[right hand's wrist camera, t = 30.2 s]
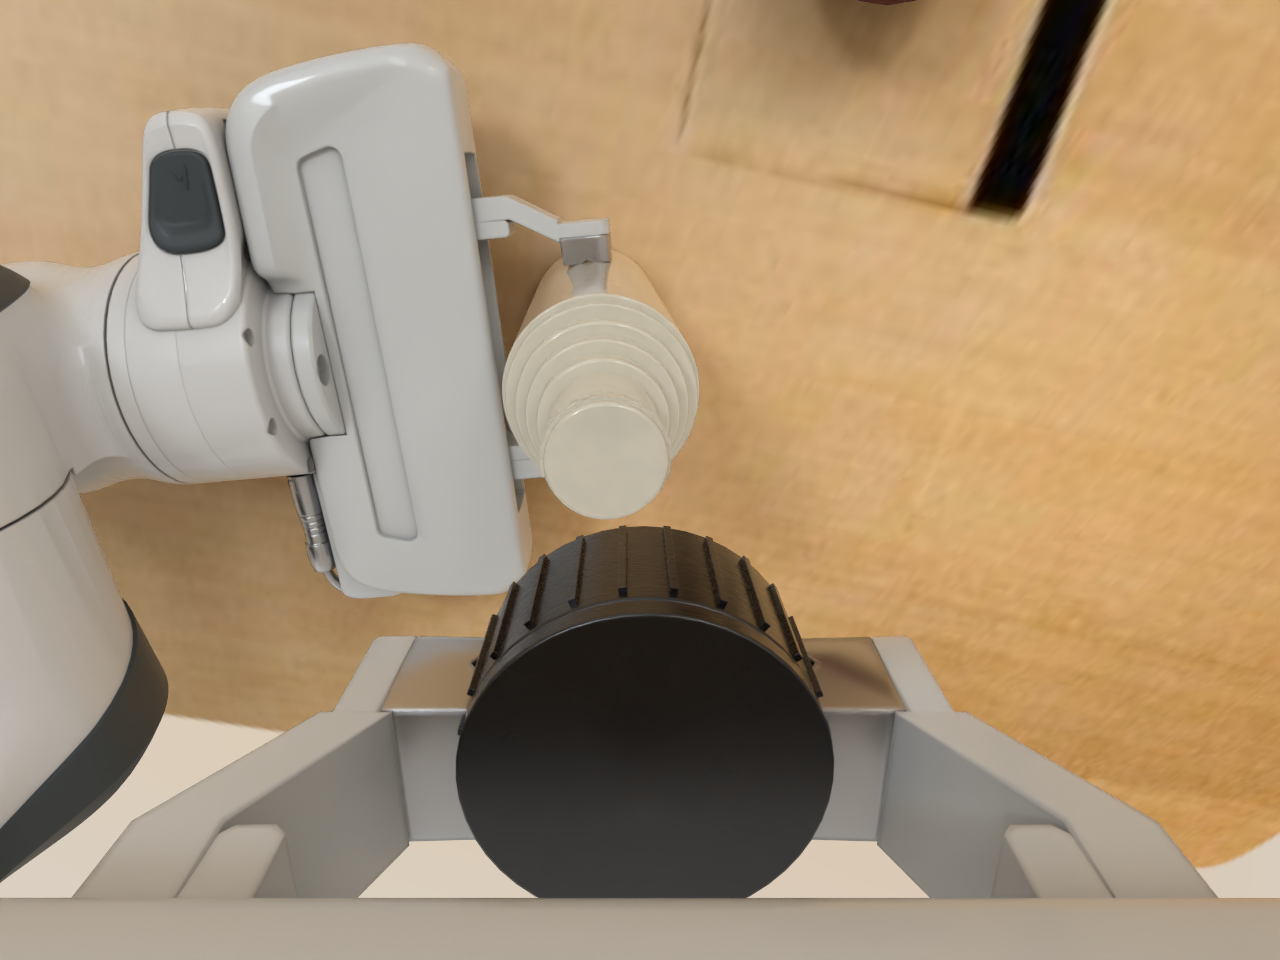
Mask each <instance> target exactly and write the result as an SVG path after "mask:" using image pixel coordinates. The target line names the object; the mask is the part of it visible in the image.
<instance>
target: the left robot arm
mask: <svg viewBox="0 0 1280 960" xmlns="http://www.w3.org/2000/svg"><path fill="white" fill-rule="evenodd" d="M516 223H517V224H519V225H522V226H524V227H526V228H528V229H530V230H533V231H535V232H537V233H539V234H541V235H543V236H546V237H548V238H550V239H552V240H554V241H556V242H559V243H560V244H561V251H562V258H563V266H567V265H578V264H582V263H584V262H585V261H586V260H587V259H588V260H589V261H591V262H608V261H612V248H611V235H610V225H609V218H590V219H579V220H568V221H561V218H560V217H558V216H556V215H554V214H552V213H550V212H548V211H546V210H544V209H542V208H540V207H538V206H536V205H534V204H532V203H529V202H527V201H525V200H523V199H521V198H519V197H517V196H515V195H513V194H510V195H499V196H488V197H483V196H482V189H481V183H480V176H479V169H478V162H477V155H476V148H475V141H474V134H473V128H472V121H471V114H470V107H469V100H468V93H467V87H466V81H465V78H464V75H463V74H462V72H461V71H460V70H459V69H458V68H457V67H456V66H455V65H454V64H453V63H452V62H450V61H449V60H448V59H447V58H446V57H445V56H443V55H442V54H441V53H439V52H438V51H436V50H435V49H433V48H431V47H429V46H426V45H423V44H417V43H403V44H391V45H383V46H377V47H370V48H364V49H358V50H353V51H348V52H342V53H338V54H333V55H329V56H324V57H320V58H316V59H312V60H309V61H305V62H301V63H297V64H294V65H291V66H287V67H284V68H281V69H278V70H275V71H272V72H269V73H267V74H265V75H263V76H261V77H259V78H257V79H256V80H254V81H252V82H251V83H249V84H248V85H247V86H246V87H245V88H244V89H243V90H242V91H240V93H239V94H238V95H237V96H236V98H235V100H234V101H233V103H232V105H231V107H230V109H222V108H208V107H205V108H184V109H176V110H171V111H165V112H161V113H158V114H155V115H153V116H152V117H151V118H150V119H149V120H148V122H147V124H146V126H145V129H144V134H143V147H142V215H141V237H140V251H139V252H136V253H131V254H128V255H125V256H123V257H120V258H118V259H116V260H114V261H111V262H109V263H107V264H104V265H100V266H95V267H75V266H70V265H66V264H61V263H54V262H45V261H27V262H16V263H6V264H0V882H2V881H3V880H4V879H6V878H7V877H8V876H10V875H11V874H12V873H14V872H15V871H17V870H18V869H19V868H21V867H22V866H24V865H25V864H26V863H28V862H29V861H30V860H32V859H33V858H35V857H36V856H37V855H39V854H40V853H42V852H43V851H44V850H46V849H47V848H48V847H50V846H51V845H52V844H54V843H55V842H57V841H58V840H60V839H61V838H62V837H64V836H65V835H66V834H68V833H69V832H70V831H72V830H73V829H74V828H76V827H77V826H78V825H79V824H81V823H82V822H83V821H84V820H86V819H87V818H88V817H89V816H91V815H92V814H93V813H94V812H95V811H96V810H97V809H99V808H100V807H101V806H102V805H103V804H104V803H105V802H106V801H107V800H108V799H109V798H110V797H111V796H112V795H113V794H114V793H115V792H116V791H117V790H118V789H119V787H120V786H121V785H122V784H123V783H124V781H125V780H126V779H127V778H128V776H129V775H130V774H131V773H132V771H133V770H134V768H135V767H136V765H137V764H138V762H139V760H140V759H141V757H142V756H143V754H144V752H145V751H146V749H147V747H148V745H149V744H150V742H151V740H152V738H153V736H154V734H155V731H156V729H157V727H158V725H159V723H160V721H161V719H162V716H163V714H164V711H165V708H166V704H167V699H168V681H167V677H166V674H165V672H164V670H163V668H162V666H161V664H160V662H159V660H158V659H157V657H156V655H155V653H154V651H153V649H152V648H151V646H150V644H149V642H148V640H147V638H146V636H145V635H144V633H143V631H142V629H141V627H140V625H139V623H138V622H137V620H136V618H135V616H134V614H133V612H132V611H131V609H130V607H129V606H128V604H127V603H126V601H125V600H124V599H122V598H121V595H120V593H119V590H118V588H117V585H116V583H115V581H114V578H113V576H112V573H111V571H110V568H109V566H108V564H107V561H106V559H105V556H104V554H103V551H102V549H101V546H100V544H99V542H98V539H97V537H96V534H95V532H94V529H93V527H92V524H91V522H90V520H89V517H88V515H87V512H86V510H85V507H84V505H83V502H82V500H81V498H80V495H79V494H81V493H87V492H93V491H97V490H100V489H103V488H105V487H108V486H111V485H113V484H116V483H118V482H121V481H125V480H129V479H138V478H139V479H150V480H156V481H160V482H165V483H171V484H199V483H210V482H221V481H232V480H244V479H256V478H267V477H278V476H287V479H288V483H289V487H290V490H291V494H292V498H293V502H294V506H295V509H296V512H297V515H298V517H299V519H300V521H301V524H302V527H303V530H304V534H305V538H306V542H305V546H306V552H307V556H308V559H309V561H310V564H311V566H312V567H313V569H314V571H315V572H319V573H323V574H324V576H325V578H326V579H327V580H328V582H329V583H330V584H331V585H333V586H334V587H335V588H336V589H338V590H339V591H341V592H343V594H344V595H346V596H348V597H351V598H358V599H365V598H377V597H388V596H395V595H398V594H400V593H409V594H424V595H450V596H472V595H494V594H500V593H504V592H506V591H508V590H509V587H510V585H511V584H512V582H513V581H514V582H516V583H517V582H518V581H519V580H520V579H521V578H522V577H523V576H524V575H525V574H526V572H527V569H528V565H529V562H530V557H531V552H532V545H533V541H532V533H531V526H530V519H529V512H528V505H527V498H526V491H525V484H524V479H529V478H540V477H541V472H540V468H539V467H538V466H536V465H535V464H534V463H533V462H532V461H531V460H530V459H529V458H528V457H527V455H526V454H525V453H524V451H523V450H522V449H521V447H520V446H519V444H518V442H517V440H516V439H515V437H514V435H513V432H512V431H511V429H510V426H509V423H508V421H507V418H506V415H505V410H504V406H503V398H502V379H503V374H504V368H505V364H506V354H505V347H504V340H503V333H502V327H501V320H500V313H499V306H498V299H497V292H496V285H495V279H494V272H493V265H492V258H491V251H490V244H489V239H495V238H505V237H508V236H510V235H512V234H513V233H514V232H515V231H516V230H517V229H516ZM334 568H336V569H337V573H338V576H337V575H336V574H335V573H334V571H333V569H334Z"/></svg>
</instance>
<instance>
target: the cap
mask: <svg viewBox="0 0 1280 960" xmlns="http://www.w3.org/2000/svg"><path fill="white" fill-rule="evenodd" d="M467 695H469V696H472V697H471V701H470V704H469V707H468V711H467V714H466V717H465V720H461V721H460V724H459V727H458V734H457V735H459V736H460V737H459V742H458V748H457V754H456V785H457V791H458V798H459V801H460V805H461V808H462V811H463V814H464V817H465V820H466V822H467V824H468V826H469V828H470V830H471V832H472V834H473V836H474V838H475V840H476V841H477V842H478V844H479V845H480V847H481V848H482V850H483V851H484V853H485V854H486V855H487V856H488V857H489V859H490V860H491V861H492V862H493V863H494V864H495V865H496V866H497V867H498V868H499V870H500V871H502V872H503V873H504V874H505V875H506V876H508V877H509V878H510V879H511V880H512V881H514V882H515V883H516V884H517V885H519V886H520V887H522V888H523V889H525V890H526V891H528V892H529V893H531V894H533V895H534V896H536V897H538V898H747V897H749V896H751V895H752V894H754V893H756V892H757V891H759V890H760V889H762V888H763V887H765V886H767V885H768V884H770V883H771V882H772V881H773V880H774V879H776V878H777V877H778V876H779V875H781V874H782V873H783V872H784V871H785V870H786V869H787V868H788V867H789V866H790V865H791V864H792V863H793V862H794V861H795V860H796V859H797V858H798V857H799V856H800V855H801V853H802V852H803V851H804V849H805V848H806V847H807V845H808V844H809V842H810V841H811V840H812V838H813V836H814V835H815V833H816V831H817V829H818V827H819V825H820V824H821V822H822V820H823V817H824V814H825V811H826V809H827V806H828V803H829V800H830V795H831V790H832V785H833V780H834V752H833V744H832V738H831V730H830V728H829V725H828V724H827V720H826V717H825V715H824V712H823V710H822V707H821V704H820V702H819V699H818V698H820V697H823V693H822V690H821V688H820V685H819V683H818V680H817V677H816V675H815V672H814V670H813V667H812V665H811V662H810V659H809V657H808V654H807V652H806V649H805V647H804V644H803V642H802V639H801V636H800V634H799V631H798V629H797V626H796V624H795V621H794V619H793V616H791V617H788V616H787V614H786V611H785V608H784V606H783V603H782V601H781V598H780V595H779V593H778V590H777V588H776V586H775V585H774V584H771V585H769V584H768V582H767V581H766V580H765V579H764V578H763V577H762V576H761V575H760V573H759V572H758V571H757V570H756V569H754V568H753V567H752V566H751V565H750V562H749V559H748V558H746V557H745V556H743V557H742V558H741V557H740V556H738V555H737V554H735V553H734V552H732V551H731V550H729V549H727V548H726V547H724V546H722V545H720V544H718V543H716V542H713V539H712V538H710V537H708V536H706V538H704V537H701V536H698V535H695V534H692V533H689V532H685V531H680V530H675V529H671V527H669V526H663V528H662V527H648V526H641V527H626V526H619V528H617V529H611V530H606V531H601V532H598V533H594V534H591V535H588V536H583V535H581V536H578V537H577V538H576V540H575V541H572V542H570V543H568V544H566V545H563V546H562V547H560V548H558V549H557V550H555V551H553V552H552V553H550V554H548V555H547V556H546V555H545V554H544V555H542V556H541V557H539V560H538V563H537V564H535V565H534V566H533V567H532V568H530V569H529V570H528V571H527V572H526V574H525V575H524V576H523V577H522V578H521V579H520V580H519V581H518V582H517V583H516V582H514V581H513V582H512V584H511V585H510V587H509V590H508V594H507V597H506V599H505V601H504V603H503V604H502V606H501V608H500V610H499V612H498V614H497V615H494V614H492V616H491V619H490V622H489V625H488V628H487V631H486V635H485V638H484V641H483V644H482V647H481V650H480V653H479V657H478V660H477V663H476V666H475V669H474V672H473V676H472V679H471V682H470V685H469V688H468V691H467Z"/></svg>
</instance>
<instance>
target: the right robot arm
mask: <svg viewBox="0 0 1280 960" xmlns="http://www.w3.org/2000/svg"><path fill="white" fill-rule="evenodd" d="M483 641H484V638H477V637H427V636H420V637H417V636H381V637H378V638H376V639H375V640H374V641H373V642H372V644H371V645H370V647H369V649H368V651H367V652H366V654H365V656H364V658H363V659H362V661H361V663H360V665H359V666H358V668H357V670H356V672H355V673H354V675H353V677H352V679H351V680H350V682H349V684H348V686H347V687H346V689H345V691H344V693H343V694H342V696H341V698H340V700H339V701H338V703H337V705H336V707H335V708H334V710H333V712H319V713H318V714H316V715H314V716H313V717H311V718H309V719H307V720H306V721H304V722H302V723H300V724H299V725H297V726H295V727H293V728H292V729H290V730H288V731H287V732H285V733H283V734H281V735H280V736H278V737H276V738H275V739H273V740H271V741H269V742H268V743H266V744H264V745H262V746H261V747H259V748H257V749H255V750H254V751H252V752H250V753H249V754H247V755H245V756H243V757H242V758H240V759H238V760H236V761H235V762H233V763H231V764H230V765H228V766H226V767H224V768H223V769H221V770H219V771H217V772H216V773H214V774H212V775H210V776H209V777H207V778H205V779H204V780H202V781H200V782H198V783H197V784H195V785H193V786H191V787H190V788H188V789H186V790H185V791H183V792H181V793H179V794H178V795H176V796H174V797H172V798H171V799H169V800H167V801H166V802H164V803H162V804H160V805H159V806H157V807H155V808H153V809H152V810H150V811H148V812H146V813H145V814H143V815H141V816H140V817H138V818H136V819H134V820H133V821H131V823H130V824H129V825H128V826H127V828H126V829H125V830H124V832H123V833H122V834H121V835H120V837H119V838H118V839H117V841H116V842H115V843H114V844H113V846H112V847H111V848H110V849H109V851H108V852H107V853H106V854H105V856H104V857H103V858H102V860H101V861H100V862H99V863H98V865H97V866H96V867H95V869H94V870H93V871H92V872H91V874H90V875H89V876H88V877H87V879H86V880H85V881H84V882H83V884H82V885H81V886H80V888H79V889H78V890H77V891H76V893H75V894H74V895H73V897H72V898H0V960H1280V898H1218V897H1217V896H1216V894H1215V893H1214V892H1213V891H1212V889H1211V888H1210V887H1209V886H1208V884H1207V883H1206V882H1205V881H1204V879H1203V878H1202V877H1201V875H1200V874H1199V873H1198V872H1197V870H1196V869H1195V868H1194V867H1193V865H1192V864H1191V863H1190V862H1189V860H1188V859H1187V858H1186V856H1185V855H1184V854H1183V853H1182V851H1181V850H1180V849H1179V848H1178V846H1177V845H1176V844H1175V843H1174V841H1173V840H1172V839H1171V838H1170V836H1169V835H1168V834H1167V832H1166V831H1165V830H1164V829H1163V827H1162V826H1161V825H1160V824H1159V822H1157V821H1155V820H1154V819H1152V818H1150V817H1148V816H1147V815H1145V814H1143V813H1141V812H1140V811H1138V810H1136V809H1134V808H1133V807H1131V806H1129V805H1128V804H1126V803H1124V802H1122V801H1121V800H1119V799H1117V798H1115V797H1114V796H1112V795H1110V794H1108V793H1107V792H1105V791H1103V790H1101V789H1100V788H1098V787H1096V786H1094V785H1093V784H1091V783H1089V782H1088V781H1086V780H1084V779H1082V778H1081V777H1079V776H1077V775H1075V774H1074V773H1072V772H1070V771H1068V770H1067V769H1065V768H1063V767H1061V766H1060V765H1058V764H1056V763H1055V762H1053V761H1051V760H1049V759H1048V758H1046V757H1044V756H1042V755H1041V754H1039V753H1037V752H1035V751H1034V750H1032V749H1030V748H1028V747H1027V746H1025V745H1023V744H1021V743H1020V742H1018V741H1016V740H1015V739H1013V738H1011V737H1009V736H1008V735H1006V734H1004V733H1002V732H1001V731H999V730H997V729H995V728H994V727H992V726H990V725H988V724H987V723H985V722H983V721H982V720H980V719H978V718H976V717H975V716H973V715H971V714H969V713H968V712H954V710H953V709H952V707H951V705H950V703H949V702H948V700H947V698H946V697H945V695H944V693H943V692H942V690H941V688H940V687H939V685H938V683H937V682H936V680H935V678H934V676H933V675H932V673H931V671H930V670H929V668H928V666H927V665H926V663H925V661H924V660H923V658H922V656H921V655H920V653H919V651H918V649H917V648H916V646H915V644H914V643H913V641H912V639H910V638H909V637H907V636H880V637H851V638H811V639H802V642H803V644H804V647H805V649H806V652H807V654H808V657H809V659H810V662H811V665H812V667H813V670H814V672H815V675H816V677H817V680H818V683H819V685H820V688H821V690H822V693H823V697H820V698H818V699H819V702H820V704H821V707H822V710H823V712H824V715H825V717H826V720H827V724H828V725H829V728H830V730H831V738H832V744H833V752H834V780H833V785H832V790H831V795H830V800H829V803H828V806H827V809H826V811H825V814H824V817H823V820H822V822H821V824H820V825H819V827H818V829H817V831H816V833H815V835H814V836H813V838H812V840H848V841H877V845H878V846H879V847H880V848H881V849H882V850H883V851H884V852H885V853H886V854H887V855H888V856H889V857H890V858H891V859H892V860H893V861H894V862H895V863H896V864H897V865H898V866H899V867H900V868H901V869H902V870H903V871H904V872H905V873H906V874H907V875H908V876H909V877H910V878H911V879H912V880H913V881H914V882H915V883H916V884H917V885H918V886H919V887H920V888H921V889H922V890H923V891H924V892H925V893H926V894H927V895H928V896H929V897H930V898H358V897H359V896H360V895H361V894H362V893H363V891H365V889H367V887H368V886H369V885H370V884H371V883H372V882H373V881H374V880H375V879H376V878H377V877H378V876H379V875H380V874H381V873H382V872H383V871H384V870H385V869H386V868H387V867H388V866H389V865H390V864H391V863H392V862H393V861H394V860H395V859H396V858H397V857H398V856H399V855H400V854H401V853H402V852H403V851H404V850H405V849H406V848H407V847H408V846H409V841H437V840H473V839H475V838H474V836H473V834H472V832H471V830H470V828H469V826H468V824H467V822H466V820H465V817H464V814H463V811H462V808H461V805H460V801H459V798H458V791H457V785H456V754H457V748H458V742H459V737H460V736H459V735H457V734H458V727H459V724H460V721H461V720H465V717H466V714H467V711H468V707H469V704H470V701H471V697H472V696H469V695H467V691H468V688H469V685H470V682H471V679H472V676H473V672H474V669H475V666H476V663H477V660H478V657H479V653H480V650H481V647H482V644H483Z"/></svg>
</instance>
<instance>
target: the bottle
mask: <svg viewBox="0 0 1280 960" xmlns="http://www.w3.org/2000/svg"><path fill="white" fill-rule="evenodd" d="M699 396H700V384H699V376H698V369H697V366H696V362H695V359H694V356H693V354H692V352H691V349H690V347H689V345H688V343H687V342H686V340H685V338H684V337H683V335H682V333H681V332H680V330H679V328H678V327H677V325H676V323H675V322H674V320H673V318H672V316H671V315H670V313H669V311H668V310H667V308H666V306H665V305H664V303H663V301H662V300H661V298H660V296H659V295H658V293H657V291H656V289H655V288H654V286H653V284H652V283H651V281H650V279H649V278H648V276H647V275H646V273H645V272H644V271H643V269H642V268H641V267H640V266H639V265H638V264H637V263H636V262H635V261H633V260H632V259H630V258H629V257H628V256H626V255H624V254H622V253H620V252H617V251H614V250H612V261H608V262H591V261H589V260H588V259H587V260H586V261H585V262H584V263H582V264H578V265H567V266H563V258H562V257H561V258H560V259H558V260H557V261H556V262H555V263H554V264H553V265H552V266H551V267H550V268H549V269H548V270H547V271H546V273H545V274H544V276H543V277H542V279H541V281H540V283H539V285H538V287H537V290H536V292H535V294H534V297H533V299H532V301H531V304H530V306H529V308H528V311H527V313H526V315H525V318H524V320H523V322H522V325H521V327H520V329H519V332H518V334H517V336H516V339H515V341H514V343H513V346H512V348H511V350H510V353H509V355H508V358H507V361H506V364H505V368H504V374H503V379H502V398H503V406H504V410H505V415H506V418H507V421H508V423H509V426H510V429H511V431H512V432H513V435H514V437H515V439H516V440H517V442H518V444H519V446H520V447H521V449H522V450H523V451H524V453H525V454H526V455H527V457H528V458H529V459H530V460H531V461H532V462H533V463H534V464H535V465H536V466H538V467H539V468H540V472H541V478H545V479H546V481H547V483H548V486H549V488H550V489H551V490H552V492H553V493H554V494H555V496H556V497H557V498H558V499H559V500H560V501H561V502H562V503H563V504H564V505H565V506H566V507H568V508H569V509H571V510H572V511H574V512H576V513H578V514H580V515H583V516H586V517H589V518H594V519H603V520H608V519H617V518H622V517H625V516H628V515H631V514H633V513H635V512H637V511H639V510H640V509H642V508H644V507H645V506H646V505H647V504H649V503H650V502H651V501H652V500H653V499H654V498H655V497H656V496H657V494H658V493H659V492H660V491H661V490H662V489H663V486H664V484H665V482H666V480H667V478H668V476H669V473H670V468H671V462H672V460H673V458H674V457H675V456H676V455H677V454H678V452H679V451H680V450H681V448H682V447H683V445H684V444H685V442H686V440H687V438H688V437H689V434H690V432H691V429H692V427H693V424H694V420H695V417H696V413H697V410H698V404H699Z"/></svg>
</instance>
